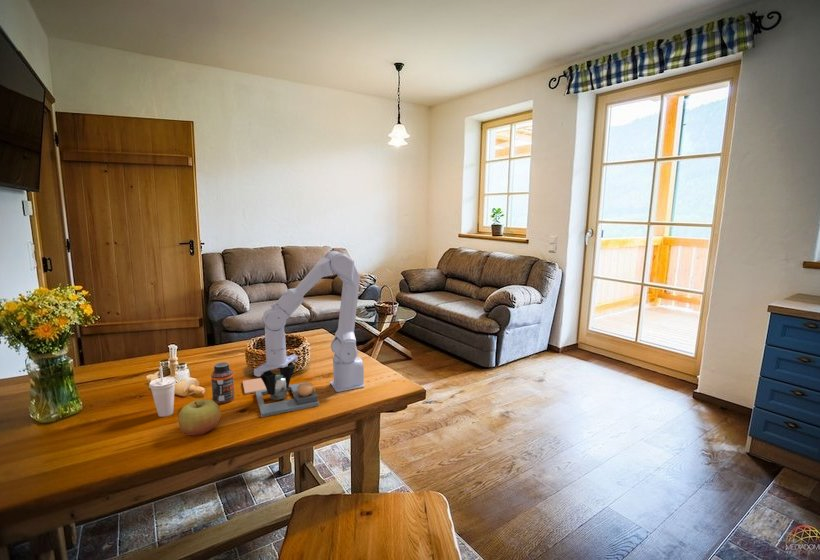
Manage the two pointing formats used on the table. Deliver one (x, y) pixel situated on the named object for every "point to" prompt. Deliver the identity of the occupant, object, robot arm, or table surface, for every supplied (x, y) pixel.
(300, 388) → the plunger
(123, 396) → the table surface
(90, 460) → the table surface
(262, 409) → the housing
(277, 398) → the cartridge
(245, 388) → the coaster
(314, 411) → the table surface
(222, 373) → the supplement bottle
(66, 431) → the table surface
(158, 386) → the smoothie
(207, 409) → the apple
